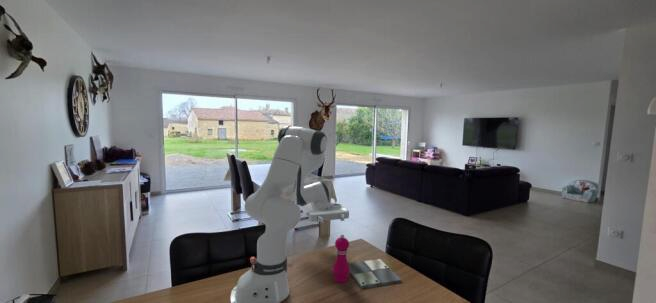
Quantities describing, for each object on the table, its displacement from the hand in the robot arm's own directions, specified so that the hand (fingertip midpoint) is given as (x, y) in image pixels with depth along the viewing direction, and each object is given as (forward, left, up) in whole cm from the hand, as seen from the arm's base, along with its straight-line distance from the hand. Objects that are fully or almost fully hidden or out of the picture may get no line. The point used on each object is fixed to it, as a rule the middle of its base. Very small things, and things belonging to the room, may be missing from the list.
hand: (333, 220), depth 129 cm
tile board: (+15, -12, -22) cm, 29 cm away
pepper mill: (0, -12, -22) cm, 25 cm away
